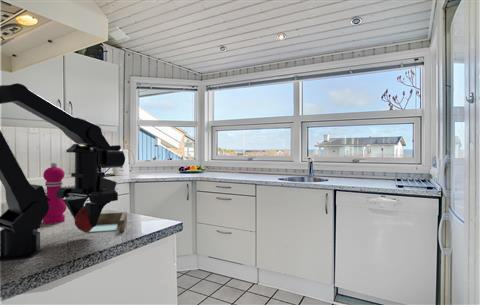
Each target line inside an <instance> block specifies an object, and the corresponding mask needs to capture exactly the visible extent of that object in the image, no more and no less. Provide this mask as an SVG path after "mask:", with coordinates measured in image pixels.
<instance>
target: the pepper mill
mask: <svg viewBox="0 0 480 305" xmlns="http://www.w3.org/2000/svg"><path fill="white" fill-rule="evenodd" d="M42 176H43V179H44V180H45V183H44V184H45V185H44V187H46V196H47V197H48V198H49V199H50V201H48V203H49V210H48V213H47V214H46V216H45V217H44V218H43V220H42V223H43V224H46V225H49V224H51V225H52V224H58V223H62V222H64V221H65V220H66V218H65V216H66V215H65V214H64V213H65V212H66V210H67V206H66V204H65V203H64V202H63V201H62V200H64V199H65V198H62V199H61V198H56V191H57V190H58V189H59V188H62V187H63V185H64V184H63V179H64V178H65V171H64V169H62V168H61V167H58V163H57V162H51V163H50V167H48V168H46V169H45V170H44V171H43V175H42Z"/></svg>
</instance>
